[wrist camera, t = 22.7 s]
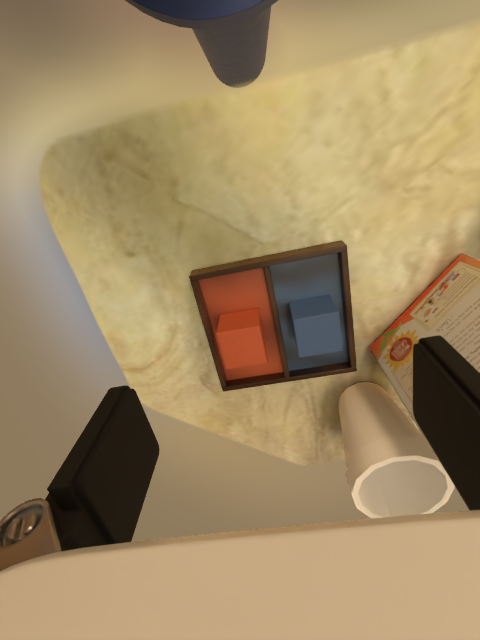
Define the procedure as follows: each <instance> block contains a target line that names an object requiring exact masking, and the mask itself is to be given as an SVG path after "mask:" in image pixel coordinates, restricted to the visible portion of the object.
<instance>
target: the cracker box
mask: <svg viewBox="0 0 480 640" xmlns="http://www.w3.org/2000/svg"><path fill="white" fill-rule="evenodd" d="M438 335H440V336H442V337H443V338H444V339H445V340H446V341H447V342H448V343H449V344H450V345H451V346H452V347H453V348H455V349H456V350H457V351H458V352H459V353H460V354H461V355H462V356H463V357H464V358H465V359H466V360H467V361H468V362H469V363H470V364H471V365H472V366H473V367H474V368H475V369H476V370H477V371H478V372H479V373H480V262H479V261H477V260H475V259H473V258H471V257H468V256H466V255H463V254H461V255H460V256H459V257H458V258H457V259H456V260H455V261H454V262H453V263H452V264H451V265H450V266H449V267H448V268H447V269H446V270H445V271H444V272H443V273H442V274H441V275H440V276H439V277H438V278H437V279H436V280H435V281H434V282H433V283H432V284H431V285H430V286H429V287H428V288H427V289H426V290H425V291H424V292H423V294H422V295H420V296H419V298H418V299H417V300H416V301H415V302H414V303H413V304H412V305H411V306H410V307H409V308H408V309H407V310H406V311H405V312H404V313H403V314H402V315H401V316H400V317H399V318H398V319H397V320H396V321H395V322H394V323H393V324H392V325H391V326H390V327H389V328H388V329H387V330H386V331H385V332H384V333H383V334H382V335H381V336H380V337H379V338H378V339H377V340H376V341H375V342H374V343H373V344H372V345H371V347H370V350H371V352H372V354H373V355H374V357H375V358H376V360H377V362H378V363H379V365H380V367H381V368H382V370H383V371H384V373H385V375H386V376H387V378H388V379H389V381H390V383H391V384H392V386H393V388H394V389H395V391H396V393H397V394H398V396H399V397H400V399H401V401H402V402H403V404H404V405H405V407H406V409H407V410H408V412H409V414H410V415H411V417H412V418H413V420H414V422H415V423H416V425H417V426H418V428H419V430H420V431H421V433H422V435H423V436H424V438H425V439H426V437H425V435H424V434H423V432H422V430H421V429H420V427H419V425H418V424H417V422H416V420H415V418H414V415H413V345H414V344H417V343H418V341H419V339H420V338H425V337H431V336H438ZM426 441H427V443H428V444H429V442H428V440H427V439H426ZM429 446H430V447H431V445H430V444H429ZM431 449H432V447H431ZM432 451H433V452H434V450H433V449H432ZM434 454H435V452H434ZM435 455H436V454H435ZM436 457H437V455H436ZM437 458H438V457H437ZM438 460H439V458H438ZM439 462H440V460H439ZM440 463H441V462H440ZM441 465H442V463H441ZM442 466H443V465H442ZM443 468H444V467H443ZM444 470H445V468H444ZM445 471H446V470H445ZM446 473H447V472H446ZM447 474H448V473H447ZM448 476H449V475H448ZM449 478H450V477H449ZM450 479H451V478H450ZM451 481H452V480H451ZM453 484H454V483H453ZM454 486H455V485H454ZM456 489H457V488H456ZM457 491H458V490H457ZM459 494H460V493H459ZM460 496H461V495H460ZM461 497H462V496H461ZM462 499H463V498H462ZM463 501H464V500H463ZM464 502H465V501H464ZM465 504H466V503H465ZM467 507H468V506H467ZM468 509H469V508H468Z"/></svg>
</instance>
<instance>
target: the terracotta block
mask: <svg viewBox="0 0 480 640" xmlns="http://www.w3.org/2000/svg"><path fill="white" fill-rule="evenodd" d="M216 334H217V338H218V342H219V345H220V349H221V352H222V356H223V359H224V363H225V367H226V369H231V368H237V367H244V366H250V365H256V364H262V363H267V348H266V339H265V334H264V329H263V324H262V320H261V315H260V310H259V308H255V309H249V310H244V311H238V312H233V313H227V314H222V315H220V318H219V323H218V328H217V332H216Z"/></svg>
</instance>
